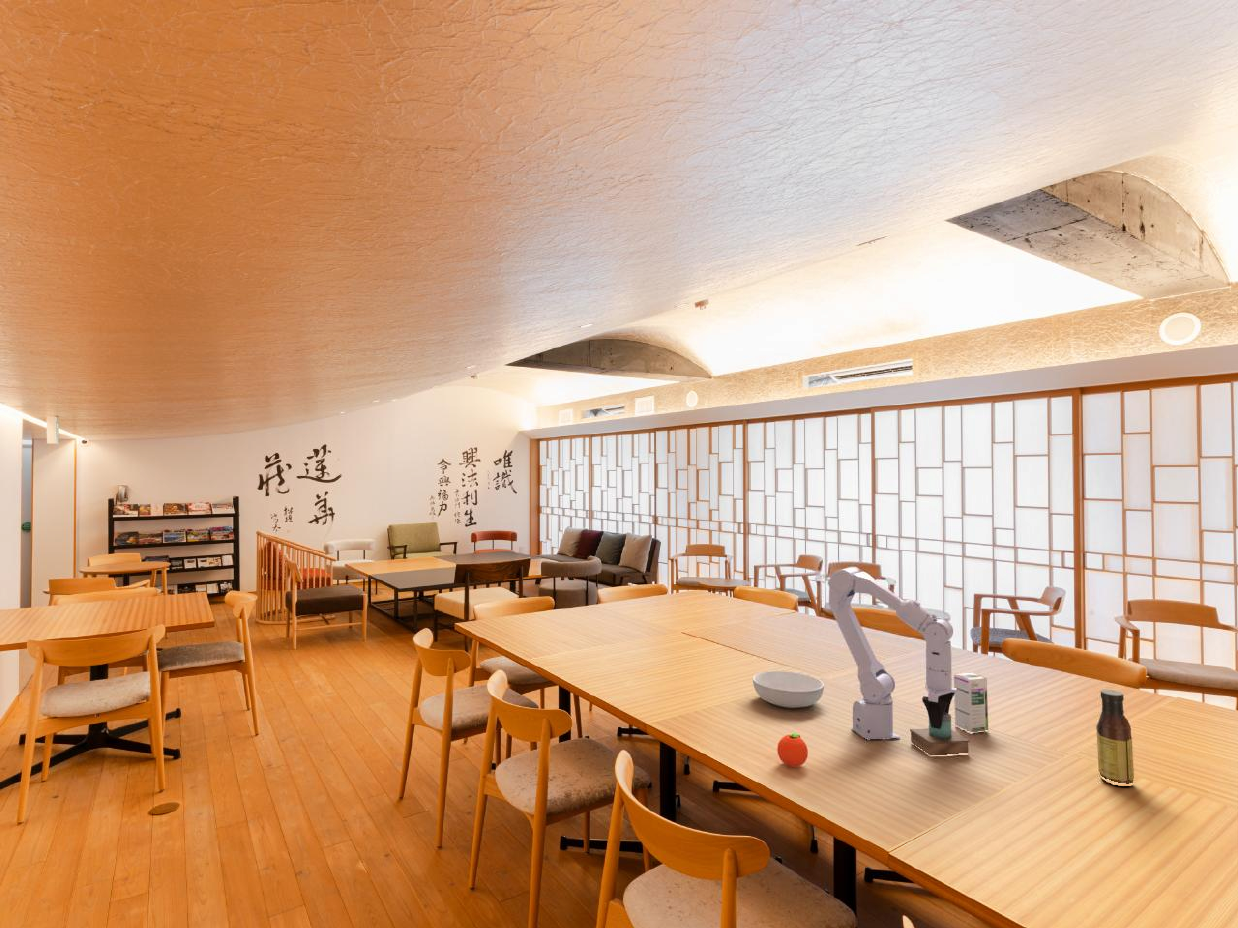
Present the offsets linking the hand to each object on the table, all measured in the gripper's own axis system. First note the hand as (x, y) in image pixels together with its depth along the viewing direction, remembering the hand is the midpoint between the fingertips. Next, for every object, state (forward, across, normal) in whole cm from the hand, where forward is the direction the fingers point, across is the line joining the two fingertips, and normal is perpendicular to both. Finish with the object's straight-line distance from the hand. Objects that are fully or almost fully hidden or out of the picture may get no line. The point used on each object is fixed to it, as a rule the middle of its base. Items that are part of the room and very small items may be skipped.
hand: (939, 723), depth 157 cm
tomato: (+7, -31, +26) cm, 41 cm away
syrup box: (+7, +20, -4) cm, 21 cm away
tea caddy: (+3, 0, 0) cm, 3 cm away
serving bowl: (+7, +9, +43) cm, 45 cm away
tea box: (+7, 0, 0) cm, 7 cm away
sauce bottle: (+7, +5, -35) cm, 36 cm away
